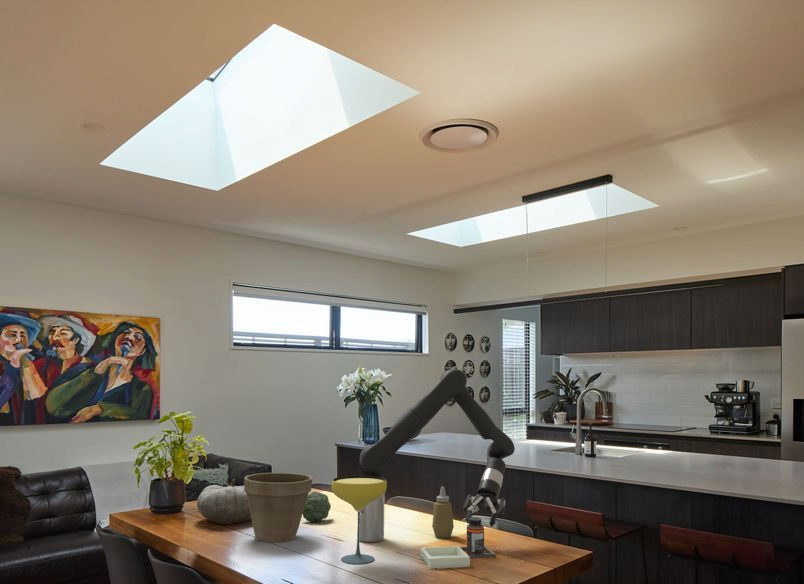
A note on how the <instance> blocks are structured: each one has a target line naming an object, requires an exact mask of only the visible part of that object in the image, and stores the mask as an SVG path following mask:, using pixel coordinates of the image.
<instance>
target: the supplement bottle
mask: <svg viewBox="0 0 804 584" xmlns="http://www.w3.org/2000/svg"><path fill="white" fill-rule="evenodd" d="M469 522H470V523H469V524H467V526H466V547H467V550H466V554H484V553H485V550H484V546H485V527H484V525H483V524H482V518H480V517H472V518H470V519H469Z"/></svg>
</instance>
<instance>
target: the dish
mask: <svg viewBox="0 0 804 584" xmlns="http://www.w3.org/2000/svg"><path fill="white" fill-rule="evenodd" d="M460 547H461V546H459V545H451V546H431V547H430V546H428V547H424V546H423V547H419V557H420V558H419V559H421V560H422V561H423V563H424V564H425V566H426V567H427V568H428V569H429V570H433V569H434V570H435V568H437V569H453V568H454V569H455V568H470V567H471V558H470V556H468V555H467V554H468V553H467V552H465V550H464V551H463V550H462V549H461V548H460Z"/></svg>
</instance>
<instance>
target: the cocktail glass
mask: <svg viewBox="0 0 804 584" xmlns="http://www.w3.org/2000/svg"><path fill="white" fill-rule="evenodd" d="M387 483H388V482H387V479H386V478H385V477H384V478H381V477H374V476H359V475H348V476H347V475H346V476H339V477H335V478H333V479H332V481H331V491H332V494H333V495H335V496H336V498H339V499H340V500H342V501H343V502H346V503H347V504H349V505H350V506H351V507H352V508H353V509H354V511H355V512H357V528H356V529H357V533H356V534H357V535H356V537H357V538H356V551H355V553H352V554H346V555H343V556H342V557H341V558H340V560H341V562H343V563H344V564H349V565H367V564H371V563H372V562H374V561H375V557H374V556H372V555H369V554H363V553H362V552H361V549H360V548H361V547H360V541H359V523H360V512H361V511H362V510H363V509H364V507H365V506H366V505H367V504H369V503H370V502H372V501H374V500H376V499H378V498H380V497H381V496H382V495H383V494H384V495H385V494H386V492H387V488H388V486H387V485H388V484H387Z"/></svg>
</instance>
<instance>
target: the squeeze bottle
mask: <svg viewBox="0 0 804 584" xmlns="http://www.w3.org/2000/svg"><path fill="white" fill-rule="evenodd" d="M431 526H432V529H433V534H434V536H435V538H439V539H449V538H451V537H452V533H453V530H454V517H453V508H452V503H451V502H450V497H449V495H447V493H446V488H445V486H441V487H440V491H439V495H437V496H436V502H434V504H433V514H432V525H431Z"/></svg>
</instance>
